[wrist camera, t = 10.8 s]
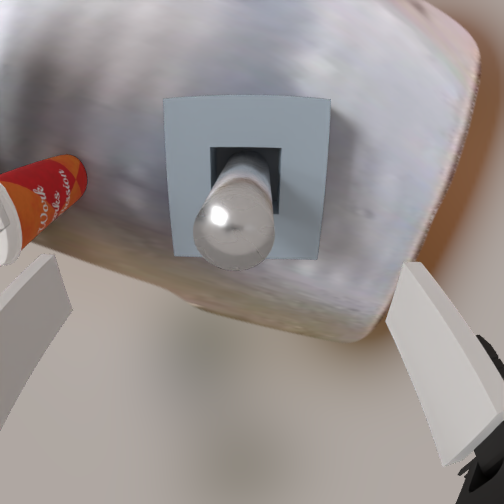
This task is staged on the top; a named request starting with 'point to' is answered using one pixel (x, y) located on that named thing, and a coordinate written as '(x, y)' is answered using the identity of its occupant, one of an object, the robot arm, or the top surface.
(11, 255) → the paper cup
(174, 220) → the socket block
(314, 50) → the top surface
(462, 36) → the top surface
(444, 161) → the top surface
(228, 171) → the pin
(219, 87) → the top surface
